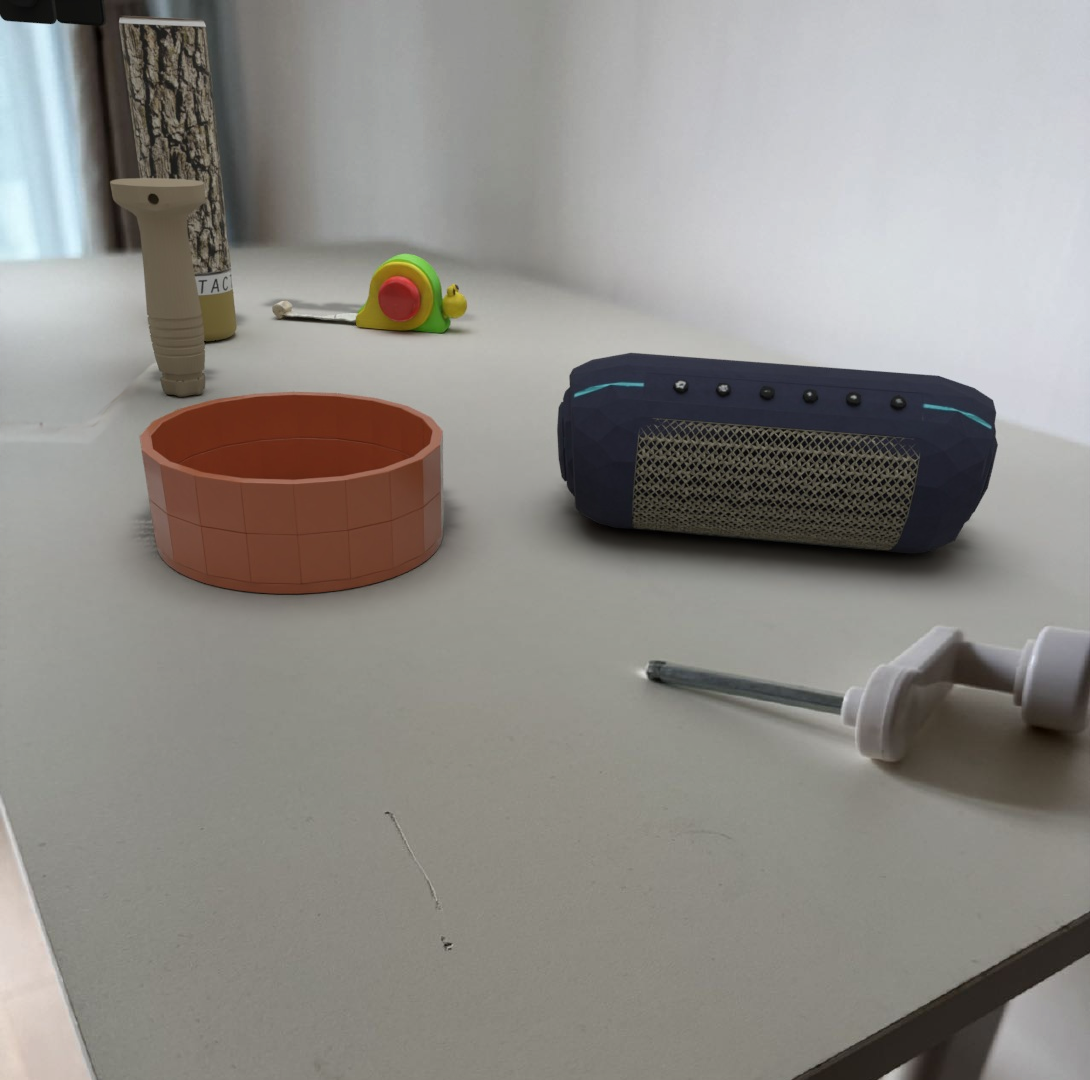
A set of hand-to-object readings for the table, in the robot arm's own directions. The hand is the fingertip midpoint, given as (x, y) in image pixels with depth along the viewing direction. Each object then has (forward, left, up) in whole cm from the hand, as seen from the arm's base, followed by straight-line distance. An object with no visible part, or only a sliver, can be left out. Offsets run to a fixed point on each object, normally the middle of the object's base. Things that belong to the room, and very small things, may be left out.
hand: (57, 23), depth 72 cm
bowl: (+18, -24, -25) cm, 39 cm away
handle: (+4, +4, -25) cm, 25 cm away
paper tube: (+1, +23, -25) cm, 34 cm away
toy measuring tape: (+16, +30, -25) cm, 42 cm away
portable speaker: (+45, -22, -25) cm, 56 cm away
